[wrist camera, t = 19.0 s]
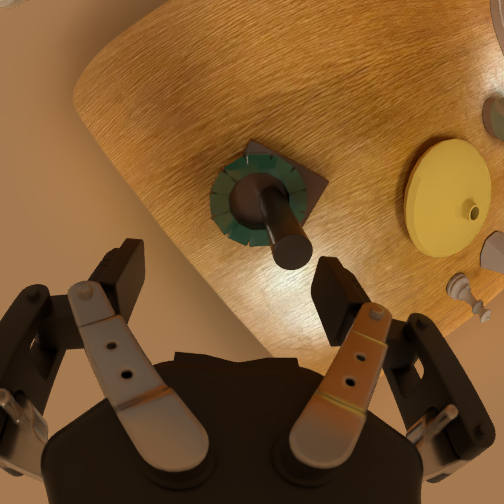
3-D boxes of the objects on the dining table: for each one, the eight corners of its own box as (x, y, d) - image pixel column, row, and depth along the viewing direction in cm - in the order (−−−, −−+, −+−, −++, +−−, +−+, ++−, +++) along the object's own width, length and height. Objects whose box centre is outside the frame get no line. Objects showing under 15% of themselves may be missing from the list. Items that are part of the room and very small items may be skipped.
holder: (211, 214, 30) (200, 282, 19) (250, 138, 27) (264, 156, 15) (284, 246, 32) (311, 322, 21) (325, 178, 29) (382, 224, 17)
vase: (403, 265, 35) (429, 294, 29) (379, 156, 28) (414, 169, 22) (479, 222, 33) (508, 243, 26) (468, 123, 26) (505, 132, 19)
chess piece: (451, 273, 37) (487, 310, 28) (467, 271, 37) (502, 306, 28) (442, 295, 39) (474, 334, 30) (459, 293, 39) (490, 328, 30)
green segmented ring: (196, 216, 28) (194, 222, 27) (238, 135, 25) (239, 136, 23) (274, 252, 31) (276, 260, 29) (319, 179, 27) (324, 184, 26)
